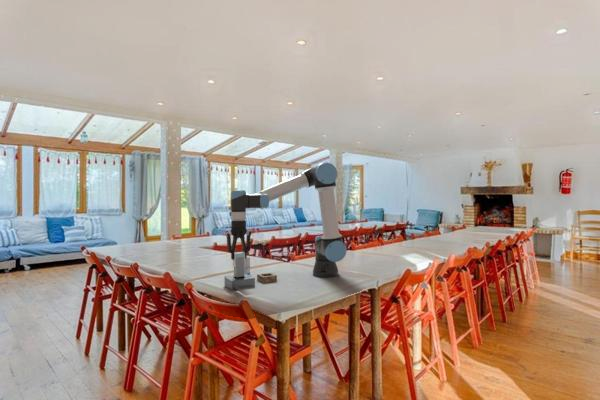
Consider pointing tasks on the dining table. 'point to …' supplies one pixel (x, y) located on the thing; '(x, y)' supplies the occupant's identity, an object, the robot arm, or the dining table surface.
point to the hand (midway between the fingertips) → (239, 265)
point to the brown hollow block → (266, 277)
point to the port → (239, 282)
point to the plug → (239, 265)
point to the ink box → (247, 266)
